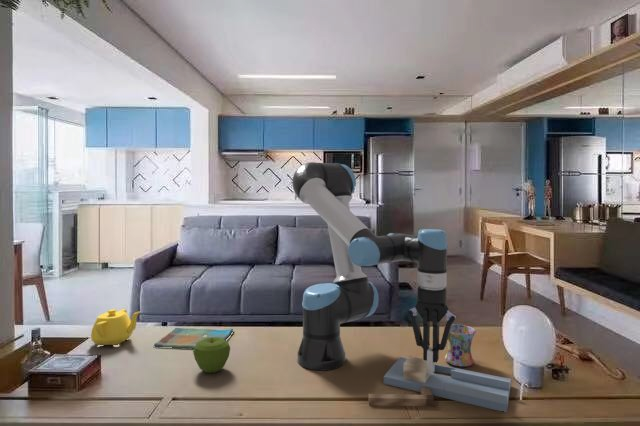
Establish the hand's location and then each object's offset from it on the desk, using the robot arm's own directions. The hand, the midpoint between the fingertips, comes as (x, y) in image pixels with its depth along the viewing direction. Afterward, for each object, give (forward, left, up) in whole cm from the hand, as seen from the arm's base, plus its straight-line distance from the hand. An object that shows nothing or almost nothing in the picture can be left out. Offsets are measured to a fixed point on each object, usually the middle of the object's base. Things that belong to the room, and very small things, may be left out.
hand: (430, 372), depth 110 cm
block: (-4, 0, -2) cm, 4 cm away
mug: (+4, +21, -4) cm, 22 cm away
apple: (-59, -21, -4) cm, 63 cm away
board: (+4, +3, -4) cm, 6 cm away
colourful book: (-82, -5, -5) cm, 83 cm away
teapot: (-104, -20, -4) cm, 106 cm away
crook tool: (-5, -11, -4) cm, 13 cm away
